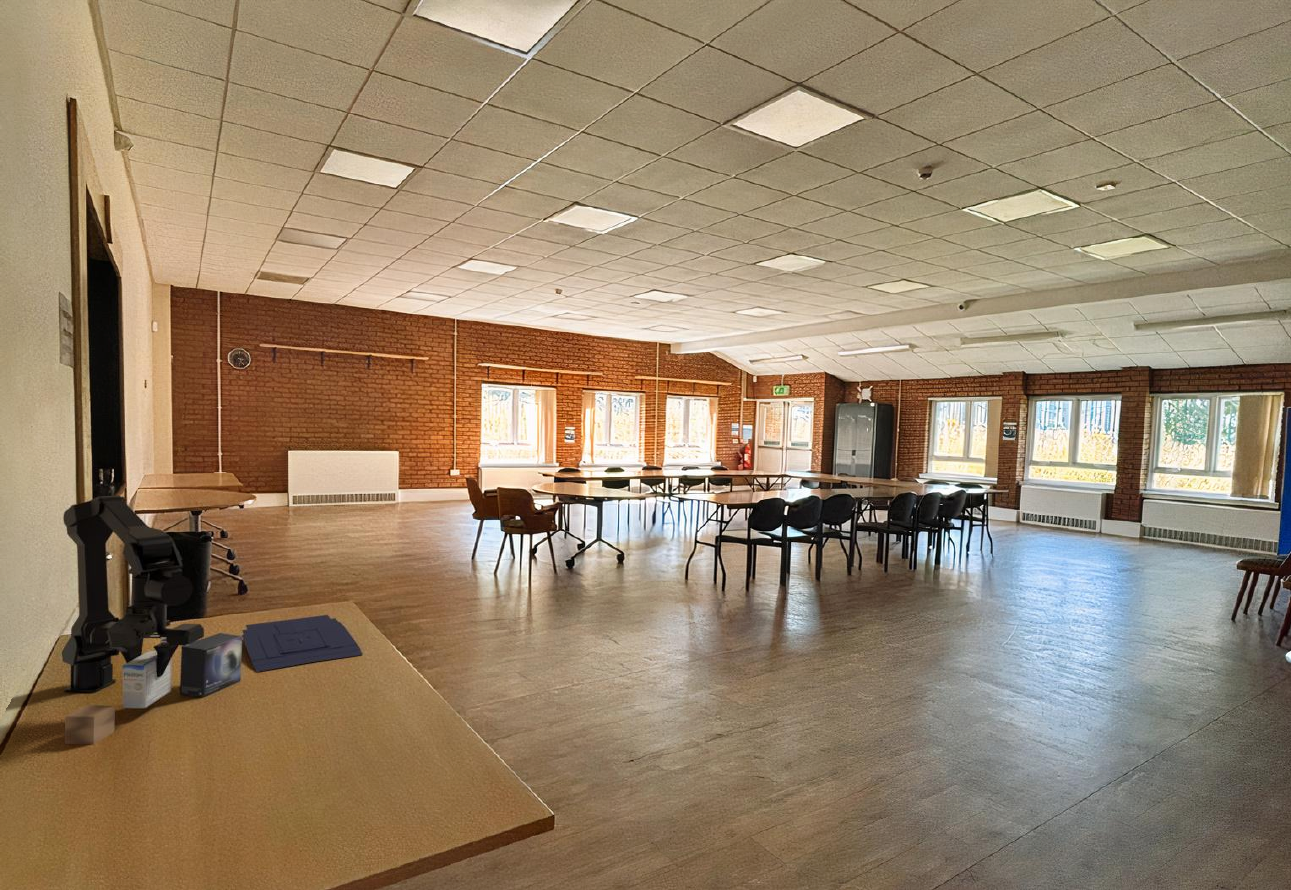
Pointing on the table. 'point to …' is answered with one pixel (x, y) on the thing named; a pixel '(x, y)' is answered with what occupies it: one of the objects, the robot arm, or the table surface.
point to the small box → (210, 664)
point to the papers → (298, 642)
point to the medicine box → (144, 681)
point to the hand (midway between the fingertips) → (147, 676)
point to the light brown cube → (89, 724)
